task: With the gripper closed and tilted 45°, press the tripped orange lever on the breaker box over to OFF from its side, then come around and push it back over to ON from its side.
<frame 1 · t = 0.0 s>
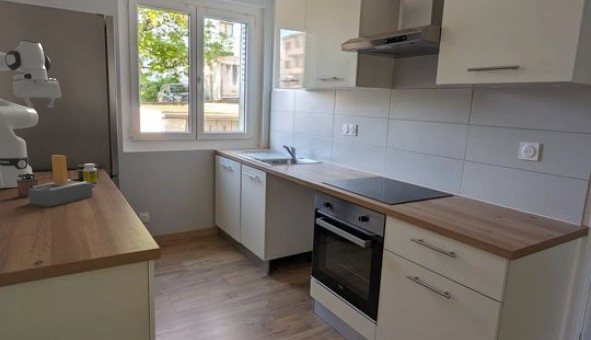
hand: (40, 107, 177), 39 cm above the countertop, tool pointing down, fingers open, 8 cm apart
jar: (88, 179, 212), on the countertop
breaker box: (62, 199, 166), on the countertop
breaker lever: (59, 169, 164), point 13 cm above the countertop, hinge at 0.0°
lighter: (29, 195, 173), on the countertop
pill bottle: (90, 185, 195), on the countertop
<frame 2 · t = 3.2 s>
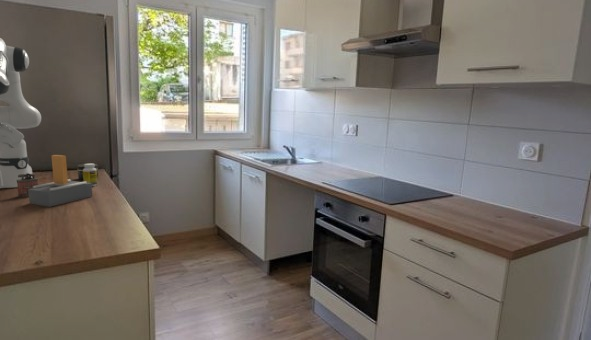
hand: (15, 147, 146), 25 cm above the countertop, tool tilted 45°, fingers closed
nothing on the countertop moved.
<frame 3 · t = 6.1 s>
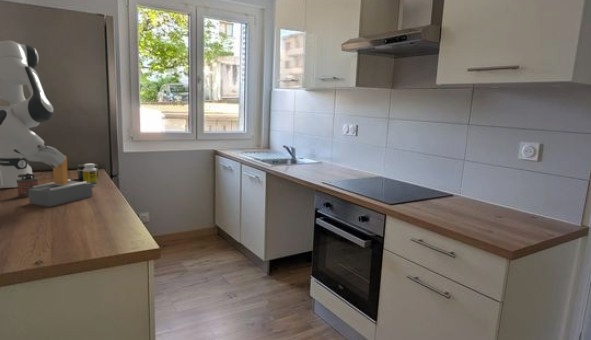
hand: (56, 166, 162), 15 cm above the countertop, tool tilted 45°, fingers closed, pressing on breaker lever
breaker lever: (60, 169, 164), point 13 cm above the countertop, hinge at 1.7°, touching gripper
everything else where it was.
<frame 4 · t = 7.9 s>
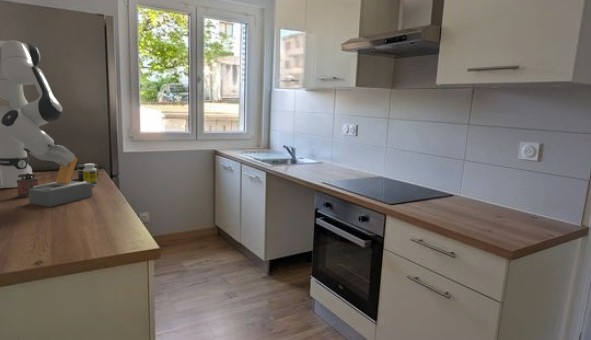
hand: (65, 165, 166), 15 cm above the countertop, tool tilted 45°, fingers closed, pressing on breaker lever
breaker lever: (66, 170, 167), point 13 cm above the countertop, hinge at 26.3°, touching gripper
everything else where it was.
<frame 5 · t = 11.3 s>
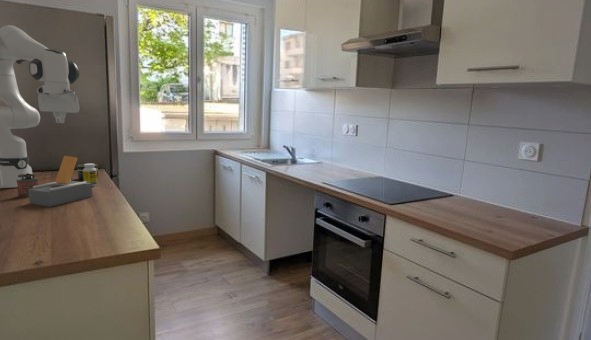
hand: (60, 123, 162), 33 cm above the countertop, tool pointing down, fingers closed
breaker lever: (66, 170, 167), point 13 cm above the countertop, hinge at 26.3°
everything else where it was.
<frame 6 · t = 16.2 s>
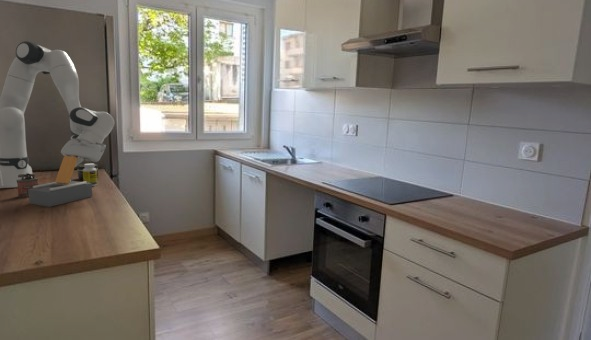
hand: (71, 165, 169), 14 cm above the countertop, tool tilted 45°, fingers closed
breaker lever: (66, 170, 167), point 13 cm above the countertop, hinge at 26.3°, touching gripper
everything else where it was.
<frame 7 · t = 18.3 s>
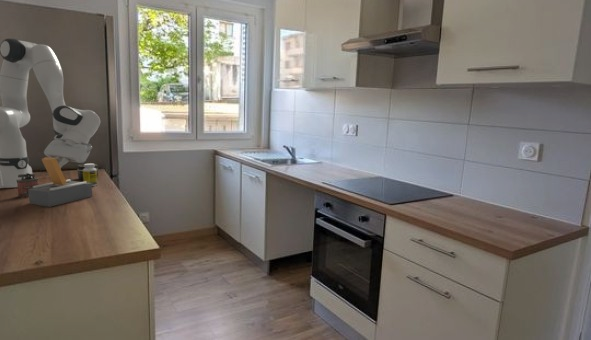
hand: (56, 167, 162), 15 cm above the countertop, tool tilted 45°, fingers closed, pressing on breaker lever
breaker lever: (54, 171, 162), point 13 cm above the countertop, hinge at -20.7°, touching gripper
everything else where it was.
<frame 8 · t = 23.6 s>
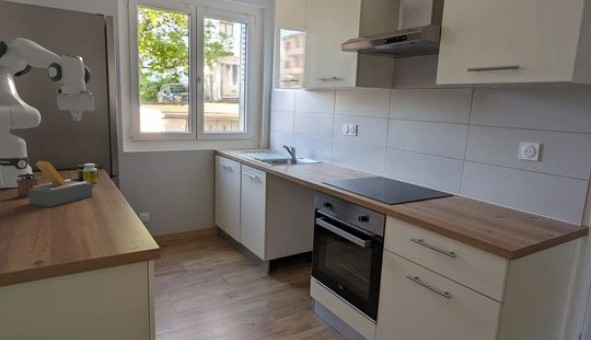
hand: (77, 120, 181), 33 cm above the countertop, tool pointing down, fingers closed
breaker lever: (51, 173, 160), point 12 cm above the countertop, hinge at -34.5°
everything else where it was.
at the end: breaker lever at -34° (first picture: +0°); pill bottle moved 0.2 cm from its start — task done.
